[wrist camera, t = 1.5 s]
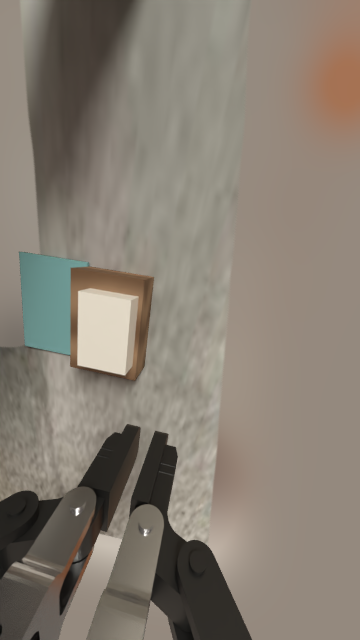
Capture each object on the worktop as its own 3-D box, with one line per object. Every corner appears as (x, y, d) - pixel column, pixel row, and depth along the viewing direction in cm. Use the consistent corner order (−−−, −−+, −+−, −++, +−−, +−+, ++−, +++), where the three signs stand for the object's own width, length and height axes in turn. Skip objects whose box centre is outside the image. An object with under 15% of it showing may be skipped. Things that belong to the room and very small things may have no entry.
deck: (89, 266, 30) (70, 267, 26) (153, 277, 29) (144, 279, 25) (86, 354, 34) (70, 366, 30) (144, 366, 33) (134, 380, 29)
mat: (21, 251, 31) (19, 251, 31) (89, 262, 30) (87, 262, 29) (27, 344, 35) (24, 345, 35) (86, 357, 34) (85, 358, 33)
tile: (90, 288, 26) (78, 291, 24) (138, 296, 26) (131, 300, 24) (88, 356, 29) (77, 365, 27) (132, 366, 28) (125, 375, 26)
